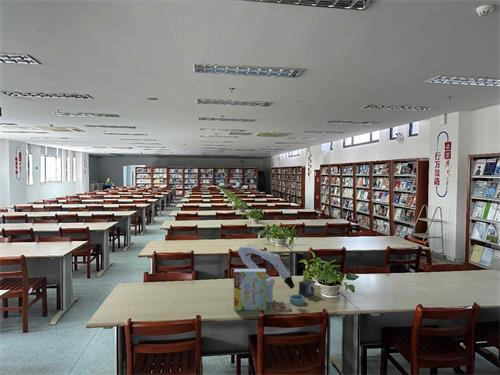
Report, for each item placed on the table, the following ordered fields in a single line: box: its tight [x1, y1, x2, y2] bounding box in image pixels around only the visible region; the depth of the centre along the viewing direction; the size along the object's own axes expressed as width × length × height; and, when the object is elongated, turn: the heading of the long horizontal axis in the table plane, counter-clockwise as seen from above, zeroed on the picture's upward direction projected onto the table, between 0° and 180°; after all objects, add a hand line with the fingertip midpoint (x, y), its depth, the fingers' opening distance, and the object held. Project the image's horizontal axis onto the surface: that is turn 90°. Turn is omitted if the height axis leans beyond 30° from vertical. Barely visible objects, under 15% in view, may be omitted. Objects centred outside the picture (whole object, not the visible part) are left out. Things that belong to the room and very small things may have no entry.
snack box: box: [233, 268, 267, 311], centre depth 231 cm, size 22×9×26 cm, turn 92°
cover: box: [271, 300, 293, 313], centre depth 231 cm, size 12×12×4 cm
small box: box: [298, 279, 316, 298], centre depth 257 cm, size 11×6×10 cm, turn 126°
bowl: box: [288, 294, 306, 306], centre depth 242 cm, size 10×10×4 cm
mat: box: [269, 303, 294, 313], centre depth 231 cm, size 14×14×1 cm
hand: (293, 287), depth 235 cm, fingers open, 7 cm apart
